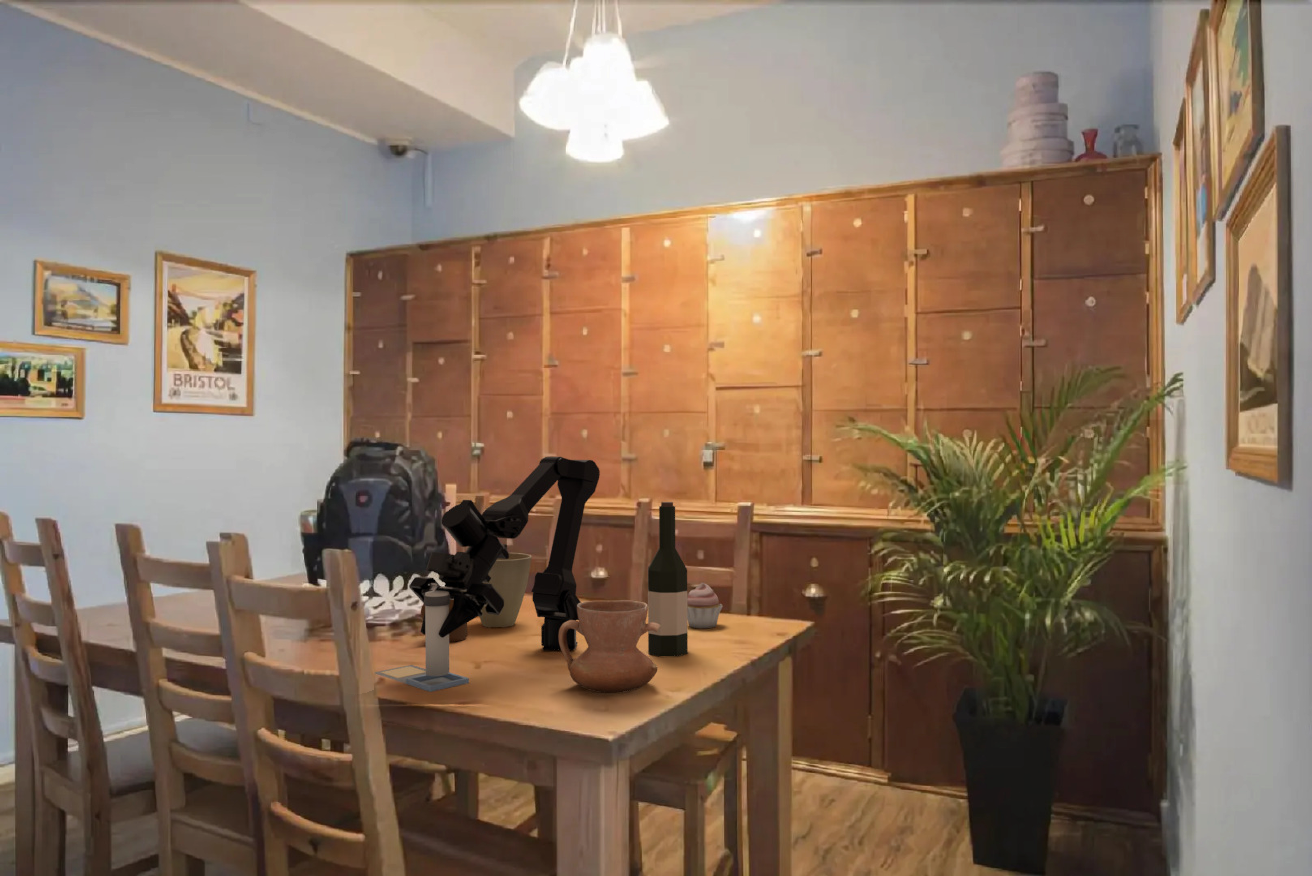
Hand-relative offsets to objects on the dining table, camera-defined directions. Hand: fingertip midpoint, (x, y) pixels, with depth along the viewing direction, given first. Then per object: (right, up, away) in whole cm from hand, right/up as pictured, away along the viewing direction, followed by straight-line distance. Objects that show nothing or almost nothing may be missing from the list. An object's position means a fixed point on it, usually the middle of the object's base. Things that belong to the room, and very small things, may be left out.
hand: (431, 634), depth 155 cm
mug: (-7, -9, +37) cm, 38 cm away
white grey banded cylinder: (+1, -7, +1) cm, 7 cm away
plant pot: (+2, -10, +53) cm, 54 cm away
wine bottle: (+41, -9, +25) cm, 49 cm away
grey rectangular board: (-3, -9, +5) cm, 11 cm away
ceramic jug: (+31, -9, -1) cm, 32 cm away
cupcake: (+49, -9, +51) cm, 72 cm away
